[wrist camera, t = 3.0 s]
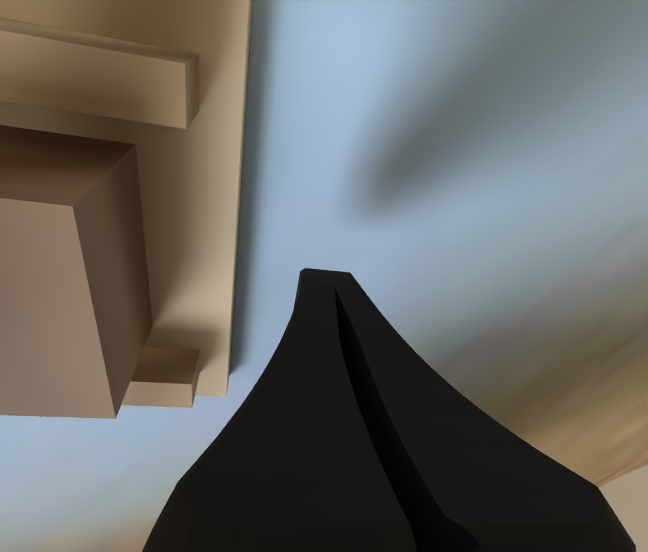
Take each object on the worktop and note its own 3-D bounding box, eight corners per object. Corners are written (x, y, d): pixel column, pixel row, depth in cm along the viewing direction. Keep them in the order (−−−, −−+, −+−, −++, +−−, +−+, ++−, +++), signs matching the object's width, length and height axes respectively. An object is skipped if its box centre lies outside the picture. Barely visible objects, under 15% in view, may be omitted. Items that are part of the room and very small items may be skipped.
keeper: (135, 144, 9) (72, 206, 7) (153, 325, 13) (115, 418, 10) (-104, 109, 9) (-293, 164, 6) (-19, 313, 12) (-112, 411, 9)
